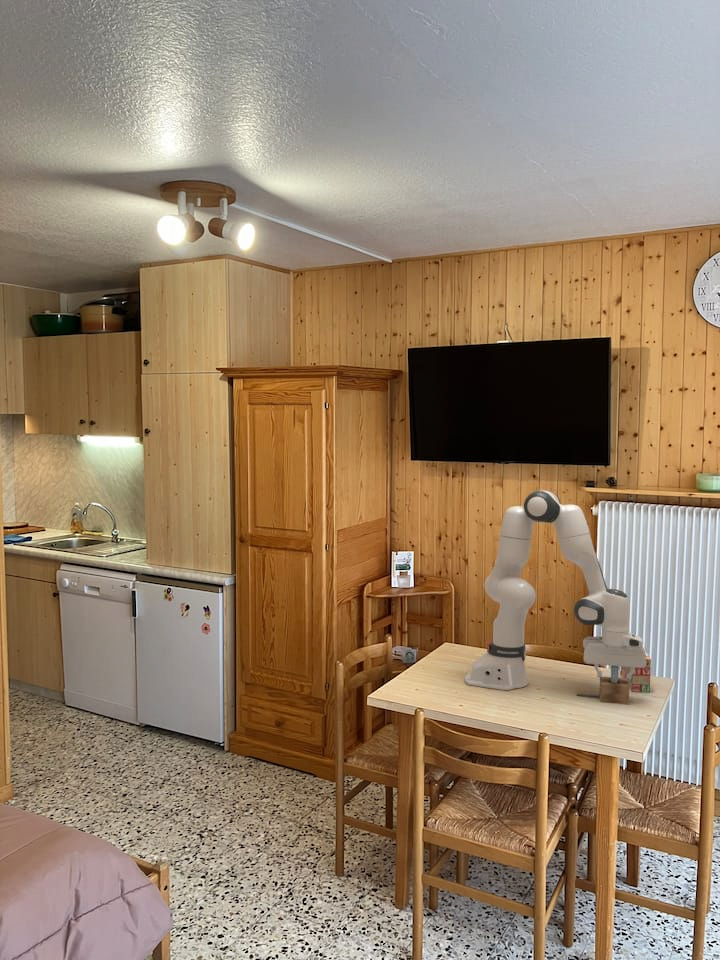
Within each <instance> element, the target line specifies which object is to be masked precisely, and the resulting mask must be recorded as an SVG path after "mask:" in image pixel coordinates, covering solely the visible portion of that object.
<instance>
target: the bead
mask: <svg viewBox="0 0 720 960" xmlns="http://www.w3.org/2000/svg"><path fill="white" fill-rule="evenodd" d="M599 700H600V701H599V702H600V703H609V704H618V703H619V704H620V705H621V704H622V705H629V704H630V688H629V684H628V680H627V679H626V678H623V677H618V683H611V676H602V678H601V677H599Z"/></svg>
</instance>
